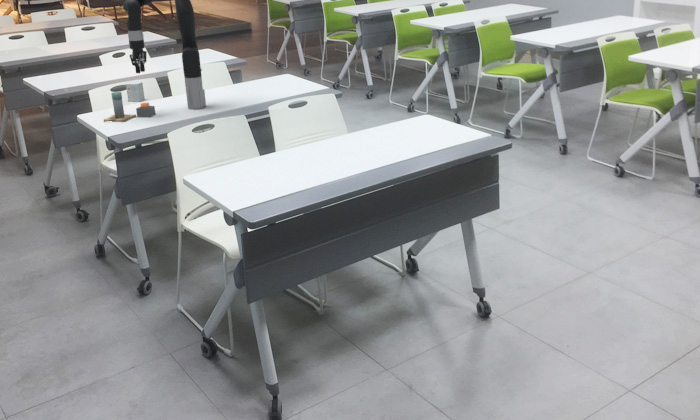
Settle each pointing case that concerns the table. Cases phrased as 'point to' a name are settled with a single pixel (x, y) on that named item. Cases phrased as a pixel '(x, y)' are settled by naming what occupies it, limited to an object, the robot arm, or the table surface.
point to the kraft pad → (124, 119)
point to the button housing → (145, 111)
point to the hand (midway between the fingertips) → (140, 72)
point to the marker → (118, 104)
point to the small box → (135, 91)
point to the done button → (144, 105)
